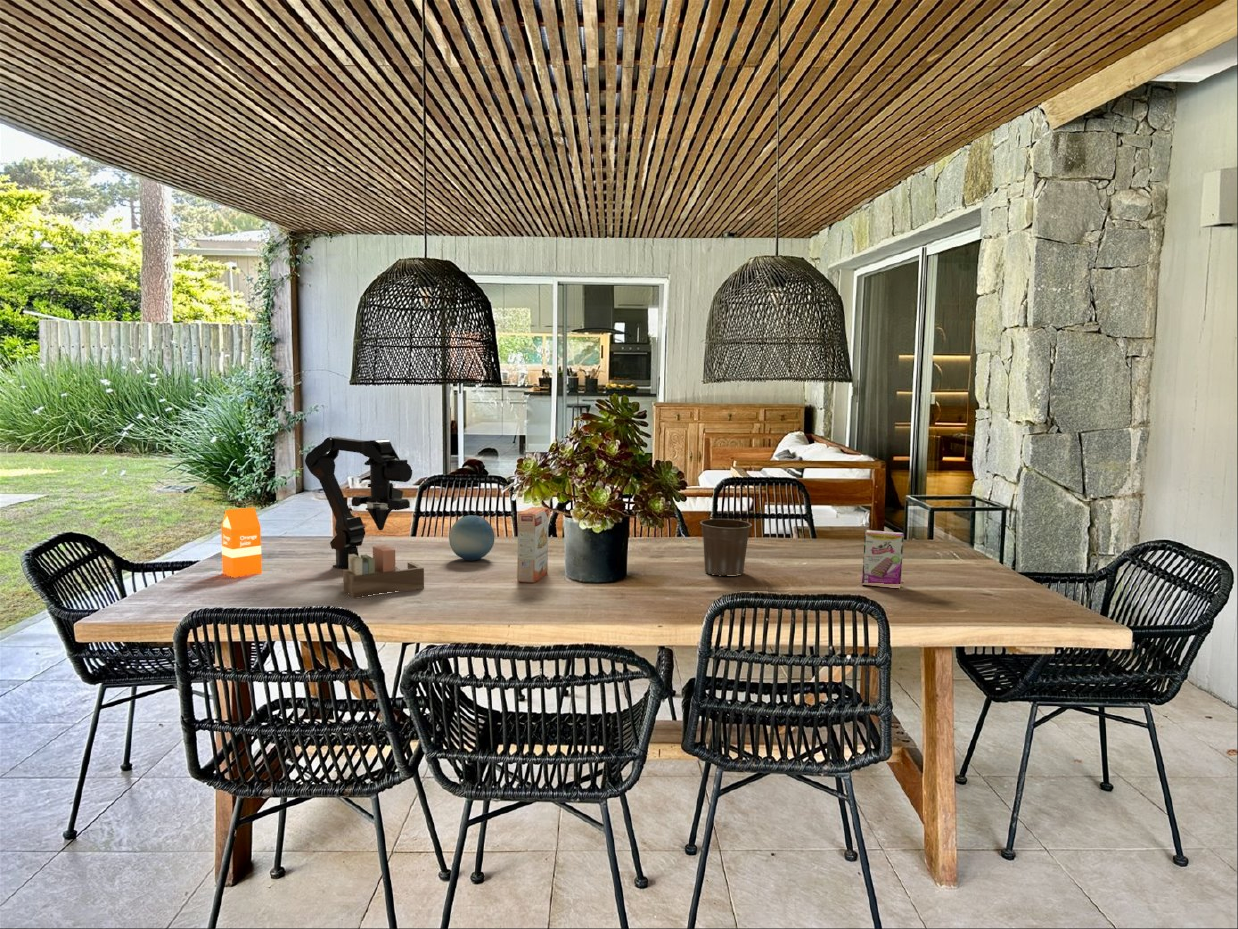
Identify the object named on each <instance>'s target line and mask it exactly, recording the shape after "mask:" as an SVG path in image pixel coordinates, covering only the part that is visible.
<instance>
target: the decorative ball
mask: <svg viewBox="0 0 1238 929" xmlns="http://www.w3.org/2000/svg"><path fill="white" fill-rule="evenodd" d="M448 534H449V535H448V541H449V546H450V548H451V551H453V553H454V554H455V555H456V556H458V557H459V558H461V559H463V560H465V561H476V560H477V561H479V560H481V559H482V558H484V557H486V556H487V555H488V554H489V553H490V552H491V550H492V548H493V547H494V544H495V539H496V537H495V532H494V529H493V527H492V525H491V524H490V522H489V521H488V520H486V519H485V518H484V517H482V516H480V515H470V514H469V515H465V516H462V517H461V518H459V519H458V520H457V521H455V522H454V523H453V525H452V526H451V528H450V530H449V533H448Z"/></svg>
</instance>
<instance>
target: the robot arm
mask: <svg viewBox="0 0 1238 929" xmlns="http://www.w3.org/2000/svg"><path fill="white" fill-rule="evenodd" d="M340 451H342V452H343V451H344V452H350V453H358V454H360V455H361V454H362V455H363V456H364V457H366V458H367V460H366V461H365V462H364V465H365V466H369V467H370V468H369V470H370V472H369V473H370V475H369V476H370V478H369V480H370V483H367V488H370V495H368V494H367V495H364V494H363V495H362V494H361V495H357V496H353V497H352V498H351V501H350V502H351V503H350V504H351V507H360V506H361V505H366V506H367V507H365V510H366V511H367V512H368V513H369V515H370V516H371V519H372V520H373V523H374V524H375V525H376V527H377V529H378V531H383V530H384V527H385V524H386V522H387V520H388V517H389V514H390V513H391V512H392V511H401V510H406V509H411V502H410V500H409V499H408V498H403V495H404V491H403V490H400V489H398V488H394V484H393V482H397V483H398V482H399V483H408V482H409V481H410V480H411V479H412V476H413V470H412V466H411V465H410V464H409V463H408V459H400V457H399V456H398V454H397V452H396V450H395V449H394V447H393V445H392V443H391V441H390V440H389V439H386V438H384V439H373V440H372V439H371V440H361V439H354V438H347V437H340V436H329V437H326V438H325V439H324V440H323V441H322V442H321V443H319V444H318V445H317V446H316V447H314V448H313V449H312V450H311V451H310V452H307V454H306V456H305V459H304V464H305V466H306V468H307V469H308V470H309V473H310V474H311V475H312V476H314V477H315V478H316V479H318V481H319V483H320V486H321V488H322V490H323V493H324V495H325V497H326V500H327V502H328V505H329V506H330V508H331V511H332V514H333V517H334V518H335V526H334V530H335V536H334V537H333V538H332V540H330V542H329V544H330V547H331V550H335V564H333V565H332V568H338V569H344V570H346V569H348V570H349V562H348V554H355V555H357V556H359V555H360V554H359V551H358V550H359V549H358V547H360V546H362V545H363V542H364V538H365V536H366V526H365V525H364V524H363V520H362V518H361V516H356V517H355V516H354V515H353V514H352V512H351V510H350V508H349V505H348V502H347V501H346V499H345V498H346V497H345V496H344V494H343V492H342V489H341V487H340V484H339V482H338V479H337V477H336V475H335V472H336V461H335V460H336V459H337V458H338V456H339V454H340ZM359 557H360V556H359Z"/></svg>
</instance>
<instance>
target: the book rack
mask: <svg viewBox="0 0 1238 929" xmlns="http://www.w3.org/2000/svg"><path fill="white" fill-rule="evenodd" d="M348 562H349V569H343V570H342V579H343V580H342V583H343V584H342V585H343V590H344V591H346V592H347V593H349V594H350V595H351V596H352V597H351V596H350V595H349V594H348V595H349V596H350V597H351V598H353V599H358V598H357V597H360V598H363V597H362V596H368V595H373V594H379V593H387V592H395V591H404V592H409V590H411V591H416V589H418V590H423V589H425V569H424V568H425V567H422V566H421V565H418V564H417V563H415V562H413V561H407V569H401V568H398V567H396V566H395V570H396V571H388V572H380V573H379V572H378V571H376V570H375V561H374V558H373V556H370V555H368V554H367V553H366V554H360V556H357V555H355V554H348ZM344 591H343V592H344ZM346 592H345V593H346ZM347 593H346V594H347ZM368 597H369V596H368Z"/></svg>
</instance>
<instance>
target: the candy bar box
mask: <svg viewBox="0 0 1238 929" xmlns="http://www.w3.org/2000/svg"><path fill="white" fill-rule="evenodd" d="M904 538H905V534H904V532H896V531H895V532H894V531H886V530H885V531H882V530H871V529H865V532H864V540H863V542H864V544H863V557H862V558H863V560H862V574H861V575H862V576H861V579H862V580H861V584H862V583H884V584H902V569H903V555H904V554H903V553H904V552H903V551H904Z"/></svg>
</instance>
